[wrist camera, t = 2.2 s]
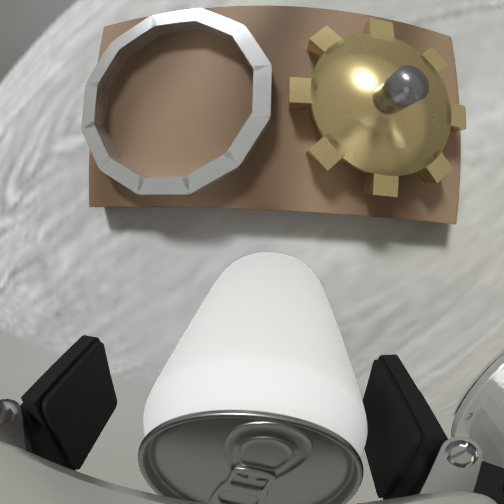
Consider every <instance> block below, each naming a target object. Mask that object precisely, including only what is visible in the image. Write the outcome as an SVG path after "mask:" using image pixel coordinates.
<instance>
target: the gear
mask: <svg viewBox="0 0 504 504" xmlns="http://www.w3.org/2000/svg"><path fill="white" fill-rule="evenodd" d="M362 32H363V34H356V35H352V36H348V37H346V38H343V39H342V38H341V37H340V36H339V35H338V34H336V33H335V32H334V31H333V30H332V29H331V28H330V27H328V26H326V27H324V28H323V29H322V30H320V31H319V32H317V33H316V34H315V35H313V36H312V37H311V38H309V42H308V47H307V51H308V52H309V53H310V54H311V55H312V56H313V57H314V58H316V59H317V60H318V62H317V64H316V66H315V69H314V72H313V74H312V78H300V77H290V80H289V106H288V109H290V110H307V111H309V115H310V119H311V122H312V125H313V127H314V129H315V131H316V134H317V135H318V137H319V138H320V140H319V141H318V142H317V143H316V144H315V145H313V146H312V147H311V148H310V149H309V150H308V151H307V152H306V154H307V155H308V156H309V157H310V158H311V159H312V160H313V161H314V162H315V163H316V165H317V166H318V167H319V168H320V169H321V170H322V171H323V172H324V171H328V170H329V169H330V168H331V167H333V166H334V165H335V164H336V163H337V162H338V161H339V160H340V161H341V162H342V163H344V164H345V165H347V166H349V167H350V168H353V169H355V170H357V171H359V172H362V173H365V185H364V193H367V194H372V195H381V196H391V197H398V181H399V176H403V175H408V174H412V173H415V172H417V173H418V175H419V176H420V177H421V179H422V180H423V182H424V183H438V182H439V181H440V180H441V179H442V178H443V177H444V176H445V175H446V174H447V173H448V172H449V171H450V170H451V169H452V167H451V165H450V164H449V162H448V161H447V159H446V158H445V156H444V155H443V153H442V150H443V149H444V147H445V145H446V143H447V140H448V137H449V134H450V132H456V131H460V130H465V129H466V113H465V106H462V105H459V104H455V103H451V102H450V100H449V96H448V93H447V90H446V87H445V85H444V83H443V81H442V79H441V77H440V76H439V74H438V73H439V72H440V71H441V70H442V69H444V68H445V67H446V66H447V65H448V64H447V63H446V62H445V61H444V59H443V58H442V57H441V56H440V55H439V54H438V52H437V51H436V50H435V49H434V48H433V47H430V48H429V49H428V50H427V51H425V52H424V53H423V54H421V53H419V52H418V51H417V50H416V49H414V48H413V47H411V46H410V45H408V44H406V43H404V42H402V41H401V40H398V39H396V38H394V30H393V23H392V22H388V21H383V20H378V19H373V18H369V19H368V21H367V23H366V24H365V26H364V28H363V30H362Z"/></svg>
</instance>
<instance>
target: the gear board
mask: <svg viewBox="0 0 504 504" xmlns="http://www.w3.org/2000/svg"><path fill="white" fill-rule="evenodd" d="M204 9H205V10H208V11H211V12H213V13H216V14H219V15H221V16H224V17H226V18H229V19H231V20H234V21H236V22H239V23H241V24H243V25H244V26H246V27H247V29H248V30H249V32H250V33H251V35H252V36H253V38H254V39H255V40H256V42H257V43H258V45H259V46H260V48H261V49H262V51H263V52H264V54H265V55H266V57H267V58H268V60H269V61H270V63H271V66H272V108H271V123H270V125H269V126H268V128H267V129H266V131H265V132H264V134H263V136H262V137H261V139H260V140H259V142H258V143H257V145H256V146H255V148H254V150H253V151H252V153H251V154H250V156H249V158H248V159H247V161H246V162H245V164H244V166H243V167H242V166H241V167H242V168H240V169H238V170H237V171H235V172H233V173H231V174H229V175H227V176H226V177H224V178H222V179H220V180H218V181H217V182H215V183H213V184H211V185H210V186H208V187H206V188H204V189H203V190H201V191H199V192H197V193H194V194H189V195H186V194H148V195H139V194H136V193H135V192H133V191H132V190H130V189H128V188H127V187H125V186H124V185H122V184H121V183H119V182H118V181H116V180H114V179H113V178H111V177H110V176H108V175H107V174H105V173H104V172H102V171H100V169H99V168H98V165H97V163H96V161H95V159H94V157H93V155H92V152H91V150H90V157H89V205H90V207H197V208H233V209H259V210H281V211H300V212H317V213H333V214H348V215H361V216H374V217H386V218H398V219H409V220H419V221H429V222H439V223H449V224H456V222H457V212H458V201H459V186H460V160H461V134H460V131H456V132H450V134H449V137H448V140H447V143H446V145H445V147H444V149H443V150H442V153H443V155H444V156H445V158H446V159H447V161H448V162H449V164H450V165H451V167H452V169H451V170H450V171H449V172H448V173H447V174H446V175H445V176H444V177H443V178H442V179H441V180H440V181H439V182H438V183H424V182H423V180H422V179H421V177H420V176H419V175H418V173H417V172H415V173H412V174H408V175H403V176H399V181H398V197H391V196H381V195H372V194H367V193H364V185H365V173H362V172H359V171H357V170H355V169H353V168H350V167H349V166H347V165H345V164H344V163H342V162H341V161H340V160H339V161H338V162H337V163H336V164H335V165H334V166H333V167H331V168H330V169H329V170H328V171H324V172H323V171H322V170H321V169H320V168H319V167H318V166H317V165H316V163H315V162H314V161H313V160H312V159H311V158H310V157H309V156H308V155H307V154H306V152H307V151H308V150H309V149H310V148H311V147H312V146H313V145H315V144H316V143H317V142H318V141H319V140H320V138H319V137H318V135H317V134H316V131H315V129H314V127H313V125H312V122H311V119H310V115H309V111H307V110H290V109H288V106H289V80H290V77H300V78H312V74H313V72H314V69H315V66H316V64H317V62H318V60H317V59H316V58H314V57H313V56H312V55H311V54H310V53H309V52H308V51H307V47H308V42H309V38H311V37H312V36H313V35H315V34H316V33H317V32H319V31H320V30H322V29H323V28H324V27H326V26H328V27H330V28H331V29H332V30H333V31H334V32H335V33H336V34H338V35H339V36H340V37H341V38H342V39H343V38H346V37H348V36H352V35H356V34H363V32H362V30H363V28H364V26H365V24H366V23H367V21H368V19H369V18H373V19H378V20H383V21H388V22H392V23H393V30H394V38H396V39H398V40H401V41H402V42H404V43H406V44H408V45H410V46H411V47H413V48H414V49H416V50H417V51H418V52H419V53H421V54H423V53H424V52H425V51H427V50H428V49H429V48H430V47H433V48H434V49H435V50H436V51H437V52H438V54H439V55H440V56H441V57H442V58H443V59H444V61H445V62H446V63H447V64H448V65H447V66H446V67H445V68H444V69H442V70H441V71H440V72H439V73H438V74H439V76H440V77H441V79H442V81H443V83H444V85H445V87H446V90H447V93H448V96H449V100H450V102H451V103H455V104H459V95H458V84H457V74H456V66H455V59H454V52H453V46H452V40H451V37H449V36H446V35H443V34H440V33H437V32H434V31H431V30H427V29H424V28H421V27H417V26H413V25H409V24H406V23H402V22H397V21H393V20H389V19H384V18H379V17H374V16H369V15H363V14H357V13H351V12H344V11H337V10H328V9H319V8H307V7H291V6H232V7H216V8H204ZM149 17H150V16H149ZM146 18H148V17H144V18H139V19H134V20H130V21H125V22H121V23H117V24H113V25H109V26H106V27H104V31H103V36H102V41H101V47H100V53H99V59H98V62H99V61H100V59H101V57H102V56H103V54H104V53H105V51H106V49H107V48H108V46H109V45H110V43H112V41H114V40H115V39H117V38H118V37H119V36H121V35H122V34H124V33H125V32H127V31H128V30H129V29H131V28H132V27H134V26H135V25H137V24H139V23H140V22H142V21H143V20H145V19H146ZM252 102H253V72H252V70H251V69H250V67H249V65H248V64H247V62H246V61H245V59H244V58H243V56H242V55H241V53H240V51H239V50H238V48H237V47H236V45H234V44H232V43H230V42H227V41H225V40H223V39H221V38H218V37H216V36H213V35H211V34H209V33H206V32H204V31H201V30H198V31H188V32H180V33H172V34H165V35H161V36H159V37H158V38H156V39H155V40H153V41H151V42H150V43H148V44H147V45H145V46H144V47H142V48H141V49H139V50H138V51H136V52H135V53H133V54H132V55H130V56H129V57H128V59H127V60H126V62H125V63H124V65H123V66H122V68H121V70H120V71H119V73H118V74H117V76H116V78H115V79H114V81H113V83H112V84H111V86H110V88H109V90H108V100H107V112H106V125H105V126H106V129H107V131H108V133H109V135H110V137H111V139H112V141H113V144H114V146H115V148H116V150H117V152H118V154H119V156H120V158H121V159H122V160H124V161H126V162H127V163H129V164H131V165H132V166H134V167H136V168H137V169H139V170H140V171H142V172H144V173H145V174H147V175H149V176H150V177H186V176H187V175H189V174H191V173H192V172H194V171H196V170H197V169H199V168H201V167H203V166H204V165H206V164H208V163H209V162H211V161H213V160H215V159H216V158H218V157H220V156H222V155H224V154H225V153H227V151H228V149H229V148H230V146H231V145H232V143H233V141H234V140H235V138H236V137H237V135H238V134H239V132H240V130H241V129H242V127H243V126H244V124H245V123H246V121H247V120H248V118H249V117H250V115H251V113H252Z"/></svg>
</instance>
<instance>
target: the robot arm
mask: <svg viewBox="0 0 504 504" xmlns="http://www.w3.org/2000/svg"><path fill="white" fill-rule="evenodd" d="M21 399H22V401H23V403H22V404H21V405H19V403H18V402H16V401H14V400H11V399H1V400H0V504H208V503H200V502H194V501H187V500H181V499H176V498H170V497H165V496H160V495H155V494H151V493H147V492H142V491H139V490H134V489H131V488H127V487H123V486H120V485H116V484H113V483H109V482H106V481H103V480H100V479H97V478H94V477H91V476H88V475H85V474H82V473H79V472H77V471H75V470H76V469H80V467H81V466H82V464H83V463H84V461H85V459H86V457H87V456H88V454H89V452H90V451H91V449H92V447H93V445H94V443H95V442H96V440H97V438H98V437H99V435H100V433H101V432H102V430H103V428H104V427H105V425H106V423H107V422H108V420H109V418H110V417H111V415H112V413H113V412H114V410H115V408H116V405H117V398H116V394H115V391H114V387H113V383H112V379H111V375H110V371H109V366H108V362H107V357H106V353H105V348H104V344H103V343H102V342H100V340H99V339H98V338H97V337H91V336H86V335H83V336H82V337H81V338H80V339H79V340H78V341H77V342H75V343H74V344H73V345H72V346H71V347H70V348H69V349H68V350H67V351H66V352H65V353H64V354H63V355H62V356H61V357H60V358H59V359H58V360H57V361H56V362H55V363H54V364H53V365H52V366H51V367H50V368H49V369H48V370H47V371H46V372H45V373H44V374H43V375H42V376H41V377H40V378H39V379H38V380H37V382H36V383H34V385H33V386H32V387H31V388H30V389H29V390H28V391H27V392H26V393H25V394H24V395H23V396H22V397H21ZM363 405H364V409H365V413H366V418H367V428H368V431H367V439H366V444H365V447H364V449H365V452H366V456H367V459H368V463H369V466H370V470H371V474H372V477H373V481H374V484H375V488H376V492H377V495H378V497H379V498H382V497H383V500H381V501H374V502H367V503H360V504H504V354H503V355H502V356H500V357H499V358H498V359H497V360H496V361H495V362H494V363H493V364H492V365H491V366H490V367H489V368H488V369H487V370H486V371H485V372H484V374H483V375H482V376H481V377H480V378H479V379H478V380H477V382H476V383H475V384H474V386H473V387H472V388H471V390H470V391H469V392H468V394H467V396H466V397H465V399H464V400H463V402H462V403H461V405H460V407H459V409H458V411H457V413H456V415H455V418H454V421H453V424H452V430H451V436H452V438H450V439H448V438H447V436H446V435H445V433H444V431H443V429H442V428H441V426H440V424H439V422H438V421H437V419H436V417H435V415H434V414H433V412H432V410H431V409H430V407H429V405H428V403H427V402H426V400H425V398H424V397H423V395H422V393H421V392H420V391H419V390H418V388H417V386H416V385H415V383H414V381H413V380H412V378H411V377H410V375H409V373H408V372H407V370H406V368H405V367H404V365H403V364H402V362H401V361H400V359H399V357H398V356H397V355H381V356H380V357H379V358H378V360H374V362H373V365H372V369H371V373H370V377H369V380H368V384H367V388H366V391H365V395H364V398H363ZM482 458H483V460H484V461H482Z"/></svg>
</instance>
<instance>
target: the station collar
mask: <svg viewBox="0 0 504 504" xmlns="http://www.w3.org/2000/svg"><path fill="white" fill-rule="evenodd" d="M198 30H201V31H204V32H206V33H209V34H211V35H213V36H216V37H218V38H221V39H223V40H225V41H227V42H230V43H232V44H234V45H236V47H237V48H238V50H239V51H240V53H241V55H242V56H243V58H244V59H245V61H246V62H247V64H248V65H249V67H250V69H251V70H252V72H253V102H252V113H251V115H250V117H249V118H248V120H247V121H246V123H245V124H244V126H243V127H242V129H241V130H240V132H239V134H238V135H237V137H236V138H235V140H234V141H233V143H232V145H231V146H230V148H229V149H228V151H227V153H225V154H224V155H222V156H220V157H218V158H216V159H215V160H213V161H211V162H209V163H208V164H206V165H204V166H203V167H201V168H199V169H197V170H196V171H194V172H192V173H191V174H189V175H187V176H186V177H150V176H149V175H147V174H145V173H144V172H142V171H140V170H139V169H137V168H136V167H134V166H132V165H131V164H129V163H127V162H126V161H124V160H122V159H121V158H120V156H119V154H118V152H117V150H116V148H115V146H114V144H113V141H112V139H111V137H110V135H109V133H108V131H107V129H106V126H105V125H106V112H107V100H108V90H109V88H110V86H111V84H112V83H113V81H114V79H115V78H116V76H117V74H118V73H119V71H120V70H121V68H122V66H123V65H124V63H125V62H126V60H127V59H128V57H129V56H130V55H132V54H133V53H135V52H136V51H138V50H139V49H141V48H142V47H144V46H145V45H147V44H148V43H150V42H151V41H153V40H155V39H156V38H158V37H159V36H161V35H165V34H172V33H180V32H188V31H198ZM271 108H272V66H271V63H270V61H269V60H268V58H267V57H266V55H265V54H264V52H263V51H262V49H261V48H260V46H259V45H258V43H257V42H256V40H255V39H254V38H253V36H252V35H251V33H250V32H249V30H248V29H247V27H246V26H244V25H243V24H241V23H239V22H236V21H234V20H231V19H229V18H226V17H224V16H221V15H219V14H216V13H213V12H211V11H208V10H205V9H202V8H201V9H200V8H195V9H187V10H179V11H172V12H166V13H160V14H154V15H153V16H152V15H151V16H150V17H148V18H146V19H145V20H143V21H142V22H140V23H139V24H137V25H135V26H134V27H132V28H131V29H129V30H128V31H127V32H125V33H124V34H122V35H121V36H119V37H118V38H117V39H115V40H114V41H112V43H110V45H109V46H108V48H107V49H106V51H105V53H104V54H103V56H102V57H101V59H100V61H99V62H98V64H97V65H96V67H95V69H94V70H93V72H92V74H91V76H90V77H89V79H88V81H87V84H86V87H85V95H84V105H83V116H82V132H83V134H84V136H85V139H86V141H87V143H88V146H89V148H90V150H91V152H92V155H93V157H94V159H95V161H96V163H97V165H98V168H99V169H100V171H102V172H104V173H105V174H107V175H108V176H110V177H111V178H113V179H114V180H116V181H118V182H119V183H121V184H122V185H124V186H125V187H127V188H128V189H130V190H132V191H133V192H135V193H136V194H139V195H148V194H186V195H189V194H194V193H197V192H199V191H201V190H203V189H204V188H206V187H208V186H210V185H211V184H213V183H215V182H217V181H218V180H220V179H222V178H224V177H226V176H227V175H229V174H231V173H233V172H235V171H237V170H238V169H240V168H242V167H243V166H244V164H245V162H246V161H247V159H248V158H249V156H250V154H251V153H252V151H253V150H254V148H255V146H256V145H257V143H258V142H259V140H260V139H261V137H262V136H263V134H264V132H265V131H266V129H267V128H268V126H269V125H270V123H271ZM241 166H242V167H241Z"/></svg>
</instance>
